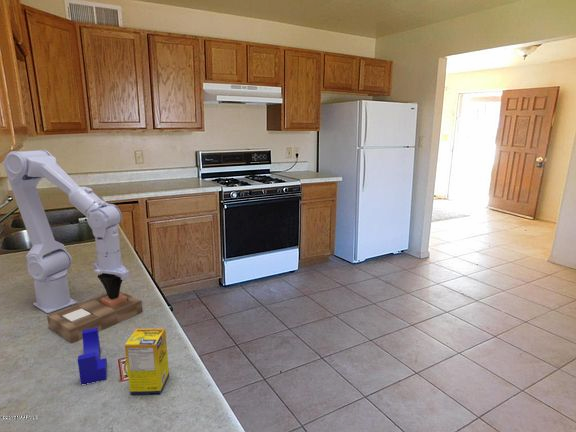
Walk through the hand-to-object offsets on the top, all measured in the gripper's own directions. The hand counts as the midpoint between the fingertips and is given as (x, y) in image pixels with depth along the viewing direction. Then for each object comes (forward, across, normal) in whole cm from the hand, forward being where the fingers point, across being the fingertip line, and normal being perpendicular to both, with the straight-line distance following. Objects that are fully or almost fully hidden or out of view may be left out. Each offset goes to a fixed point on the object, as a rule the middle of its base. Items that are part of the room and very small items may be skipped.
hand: (113, 297), depth 102 cm
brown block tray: (+4, 0, -5) cm, 7 cm away
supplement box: (+5, +34, -12) cm, 37 cm away
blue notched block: (+5, +19, -16) cm, 25 cm away
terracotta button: (+3, 0, 0) cm, 3 cm away
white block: (+4, 0, -10) cm, 11 cm away
